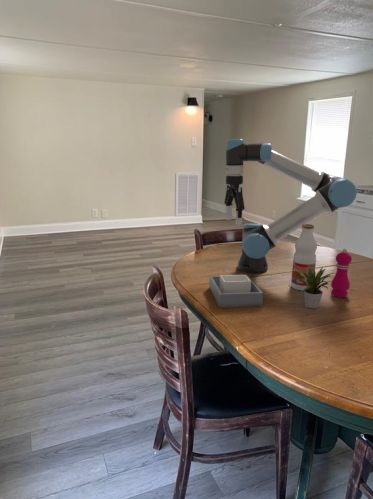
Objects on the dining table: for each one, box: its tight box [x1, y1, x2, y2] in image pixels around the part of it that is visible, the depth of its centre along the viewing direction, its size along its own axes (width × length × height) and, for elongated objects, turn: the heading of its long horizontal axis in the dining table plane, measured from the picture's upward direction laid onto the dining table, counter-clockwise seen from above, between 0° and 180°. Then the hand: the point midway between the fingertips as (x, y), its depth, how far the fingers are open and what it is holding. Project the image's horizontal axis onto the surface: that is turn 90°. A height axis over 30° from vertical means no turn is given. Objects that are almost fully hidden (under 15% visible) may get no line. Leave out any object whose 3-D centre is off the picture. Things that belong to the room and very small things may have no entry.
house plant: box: [298, 266, 336, 309], centre depth 142 cm, size 14×14×16 cm
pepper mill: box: [330, 248, 353, 298], centre depth 155 cm, size 7×7×20 cm
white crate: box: [219, 274, 251, 293], centre depth 153 cm, size 11×8×7 cm
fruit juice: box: [290, 223, 318, 292], centre depth 162 cm, size 9×9×28 cm
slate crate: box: [208, 274, 264, 309], centre depth 153 cm, size 17×21×6 cm
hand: (233, 222), depth 172 cm, fingers open, 13 cm apart
